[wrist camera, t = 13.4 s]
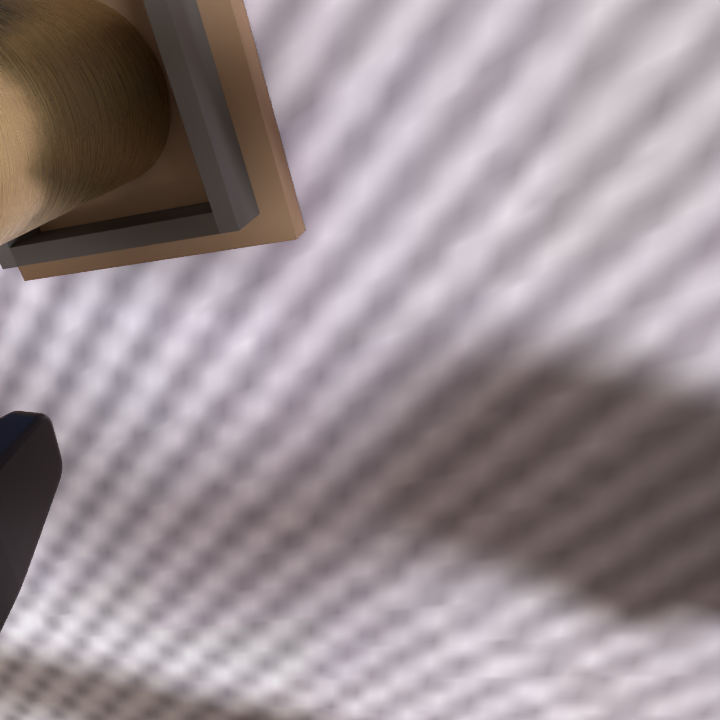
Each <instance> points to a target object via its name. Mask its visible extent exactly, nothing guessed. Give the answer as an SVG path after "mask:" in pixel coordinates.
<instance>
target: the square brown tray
mask: <svg viewBox="0 0 720 720" xmlns="http://www.w3.org/2000/svg"><path fill="white" fill-rule="evenodd" d="M96 1H99V2H101V3H103V4H105V5H107V6H109V7H110V8H112V9H114V10H115V11H117V12H118V13H119V14H121V15H122V16H124V17H125V18H126V19H127V20H128V21H129V22H130V23H131V24H132V25H133V26H134V27H135V28H136V29H137V30H138V31H139V32H140V34H141V35H142V36H143V37H144V39H145V40H146V41H147V43H148V44H149V46H150V47H151V49H152V51H153V52H154V54H155V56H156V58H157V60H158V62H159V64H160V67H161V69H162V71H163V74H164V77H165V80H166V84H167V88H168V93H169V98H170V111H171V112H170V127H169V133H168V137H167V140H166V144H165V146H164V148H163V151H162V153H161V155H160V156H159V158H158V159H157V161H156V162H155V164H154V165H153V166H152V167H151V168H150V169H149V170H148V171H147V172H145V173H144V174H143V175H142V176H140V177H138V178H136V179H134V180H133V181H131V182H129V183H127V184H124V185H122V186H120V187H118V188H116V189H114V190H112V191H110V192H108V193H106V194H104V195H102V196H100V197H98V198H96V199H94V200H92V201H90V202H88V203H86V204H84V205H82V206H80V207H78V208H76V209H74V210H72V211H70V212H67V213H65V214H63V215H61V216H59V217H57V218H55V219H53V220H51V221H49V222H47V223H45V224H43V225H41V226H39V227H37V228H35V229H33V230H31V231H29V232H27V233H25V234H23V235H21V236H19V237H17V238H15V239H13V240H10V241H8V242H6V243H4V244H2V245H0V264H1V266H2V268H3V269H6V268H13V267H18V268H19V270H20V272H21V274H22V276H23V278H24V280H25V281H27V280H34V279H41V278H47V277H54V276H60V275H67V274H73V273H80V272H86V271H93V270H99V269H106V268H112V267H119V266H125V265H132V264H138V263H145V262H152V261H158V260H165V259H171V258H178V257H184V256H191V255H197V254H204V253H210V252H217V251H223V250H230V249H236V248H243V247H249V246H256V245H263V244H269V243H276V242H282V241H289V240H295V239H298V238H299V237H300V236H301V235H302V234H303V232H304V231H305V226H304V222H303V219H302V215H301V211H300V208H299V204H298V200H297V197H296V193H295V189H294V186H293V182H292V178H291V175H290V171H289V167H288V164H287V160H286V156H285V153H284V149H283V145H282V142H281V138H280V134H279V131H278V127H277V123H276V119H275V116H274V112H273V108H272V105H271V101H270V97H269V94H268V90H267V86H266V83H265V79H264V75H263V72H262V68H261V64H260V61H259V57H258V53H257V50H256V46H255V42H254V39H253V35H252V31H251V28H250V24H249V20H248V17H247V13H246V9H245V6H244V2H243V0H96Z"/></svg>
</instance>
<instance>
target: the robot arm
mask: <svg viewBox="0 0 720 720" xmlns="http://www.w3.org/2000/svg"><path fill="white" fill-rule="evenodd" d="M61 474H62V458H61V454H60V450H59V447H58V443H57V439H56V435H55V432H54V428H53V424H52V421H51V419H50V418H49V417H48V416H47V415H45V414H42V413H33V412H24V411H14V412H11V413H9V414H7V415H5V416H3V417H2V418H0V632H1V630H2V628H3V625H4V623H5V621H6V619H7V617H8V615H9V613H10V611H11V609H12V607H13V605H14V603H15V600H16V598H17V596H18V594H19V592H20V589H21V587H22V584H23V582H24V579H25V576H26V574H27V571H28V568H29V566H30V563H31V560H32V557H33V554H34V552H35V549H36V546H37V543H38V540H39V538H40V535H41V532H42V529H43V526H44V523H45V521H46V518H47V515H48V512H49V509H50V507H51V504H52V501H53V498H54V495H55V493H56V490H57V487H58V484H59V481H60V478H61Z"/></svg>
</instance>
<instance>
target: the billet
mask: <svg viewBox="0 0 720 720" xmlns="http://www.w3.org/2000/svg"><path fill="white" fill-rule="evenodd" d="M170 112H171V111H170V98H169V93H168V88H167V84H166V80H165V77H164V74H163V71H162V69H161V67H160V64H159V62H158V60H157V58H156V56H155V54H154V52H153V51H152V49H151V47H150V46H149V44H148V43H147V41H146V40H145V39H144V37H143V36H142V35H141V34H140V32H139V31H138V30H137V29H136V28H135V27H134V26H133V25H132V24H131V23H130V22H129V21H128V20H127V19H126V18H125V17H124V16H122V15H121V14H119V13H118V12H117V11H115V10H114V9H112V8H110V7H109V6H107V5H105V4H103V3H101V2H99V1H96V0H0V245H2V244H4V243H6V242H8V241H10V240H13V239H15V238H17V237H19V236H21V235H23V234H25V233H27V232H29V231H31V230H33V229H35V228H37V227H39V226H41V225H43V224H45V223H47V222H49V221H51V220H53V219H55V218H57V217H59V216H61V215H63V214H65V213H67V212H70V211H72V210H74V209H76V208H78V207H80V206H82V205H84V204H86V203H88V202H90V201H92V200H94V199H96V198H98V197H100V196H102V195H104V194H106V193H108V192H110V191H112V190H114V189H116V188H118V187H120V186H122V185H124V184H127V183H129V182H131V181H133V180H134V179H136V178H138V177H140V176H142V175H143V174H144V173H145V172H147V171H148V170H149V169H150V168H151V167H152V166H153V165H154V164H155V162H156V161H157V159H158V158H159V156H160V155H161V153H162V151H163V148H164V146H165V144H166V140H167V137H168V133H169V127H170Z"/></svg>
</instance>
